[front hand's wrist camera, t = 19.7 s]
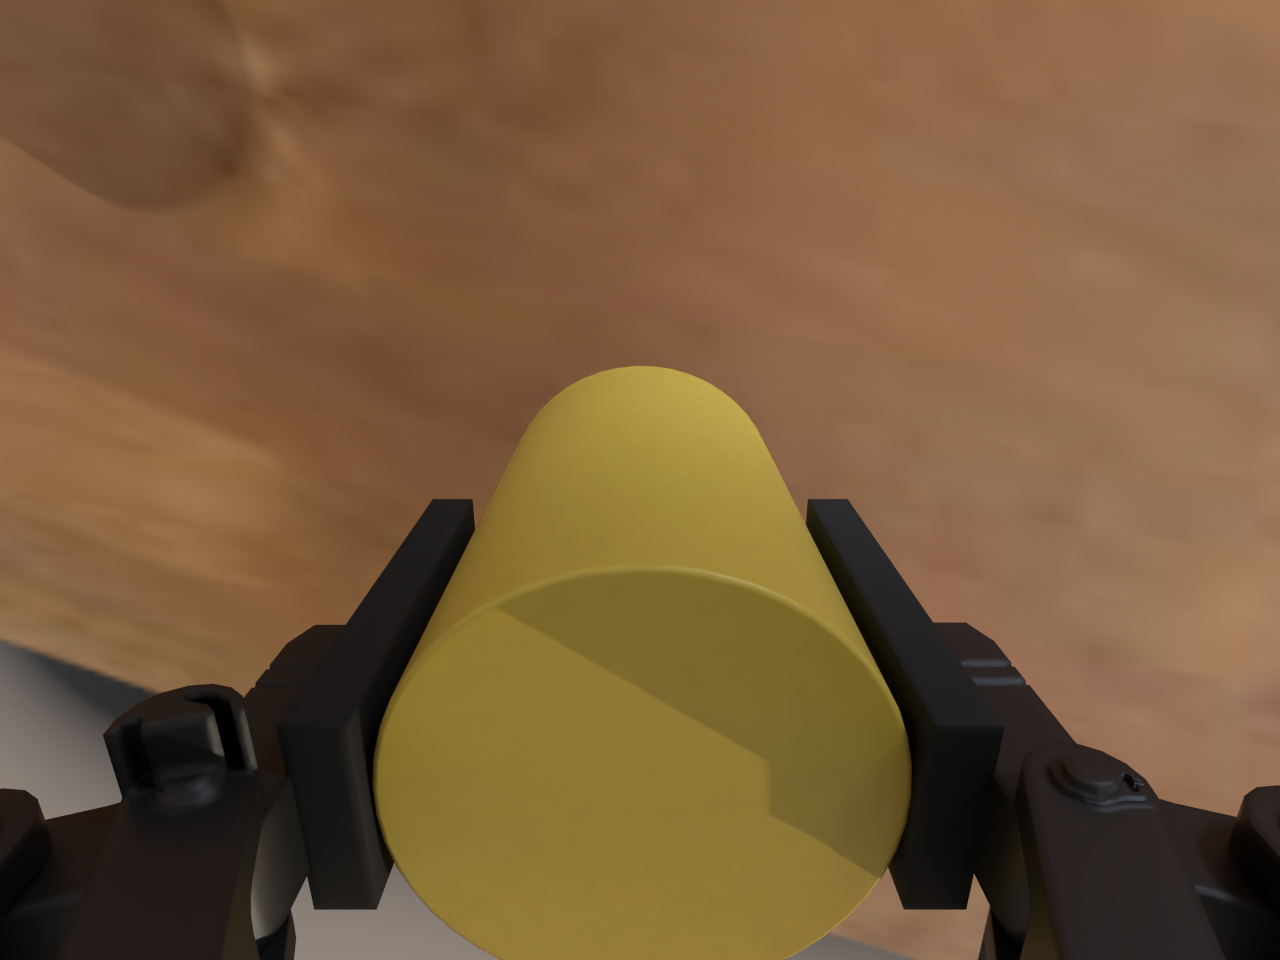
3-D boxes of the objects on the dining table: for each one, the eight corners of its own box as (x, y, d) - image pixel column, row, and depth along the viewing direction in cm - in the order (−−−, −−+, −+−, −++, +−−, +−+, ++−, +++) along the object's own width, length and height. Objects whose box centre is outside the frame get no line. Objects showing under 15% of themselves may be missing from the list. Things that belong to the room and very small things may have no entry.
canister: (606, 309, 16) (561, 450, 7) (827, 464, 18) (1031, 755, 8) (461, 524, 18) (277, 857, 9) (671, 651, 20) (698, 1056, 10)
